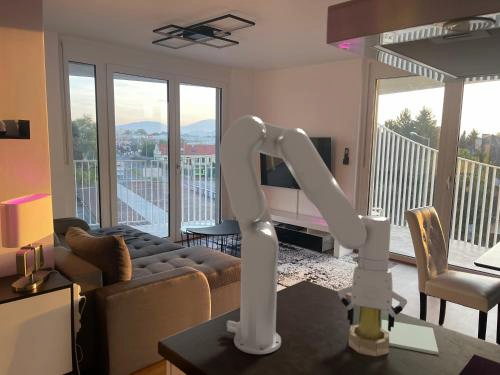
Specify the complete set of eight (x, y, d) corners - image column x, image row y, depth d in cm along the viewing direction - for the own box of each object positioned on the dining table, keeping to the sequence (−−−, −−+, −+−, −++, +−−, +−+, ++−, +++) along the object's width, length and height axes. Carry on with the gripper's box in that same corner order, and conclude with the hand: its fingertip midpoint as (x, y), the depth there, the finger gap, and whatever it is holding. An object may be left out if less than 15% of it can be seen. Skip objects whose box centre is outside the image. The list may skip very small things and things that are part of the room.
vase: (377, 340, 103) (380, 290, 101) (383, 352, 97) (386, 299, 95) (354, 338, 103) (357, 289, 102) (359, 350, 97) (361, 297, 96)
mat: (380, 344, 101) (380, 341, 101) (381, 322, 114) (381, 319, 114) (438, 354, 96) (438, 351, 96) (432, 330, 109) (432, 328, 109)
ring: (347, 350, 97) (348, 337, 97) (351, 333, 106) (351, 321, 106) (388, 359, 93) (389, 345, 93) (388, 340, 103) (389, 328, 102)
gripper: (337, 263, 97) (335, 326, 99) (409, 271, 91) (405, 338, 93) (341, 255, 104) (338, 314, 106) (408, 263, 98) (404, 325, 100)
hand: (370, 325), depth 99 cm, fingers open, 9 cm apart
